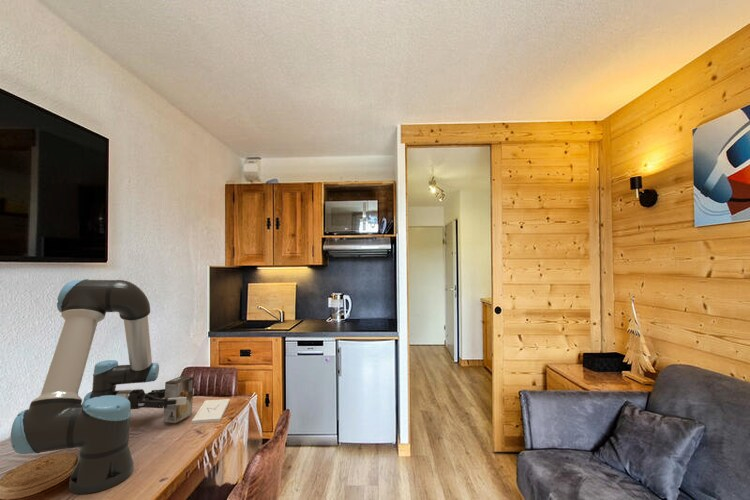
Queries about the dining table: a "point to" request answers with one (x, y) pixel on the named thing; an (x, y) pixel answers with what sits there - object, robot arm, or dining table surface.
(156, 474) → the dining table surface
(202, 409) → the marked board
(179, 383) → the coffee box
